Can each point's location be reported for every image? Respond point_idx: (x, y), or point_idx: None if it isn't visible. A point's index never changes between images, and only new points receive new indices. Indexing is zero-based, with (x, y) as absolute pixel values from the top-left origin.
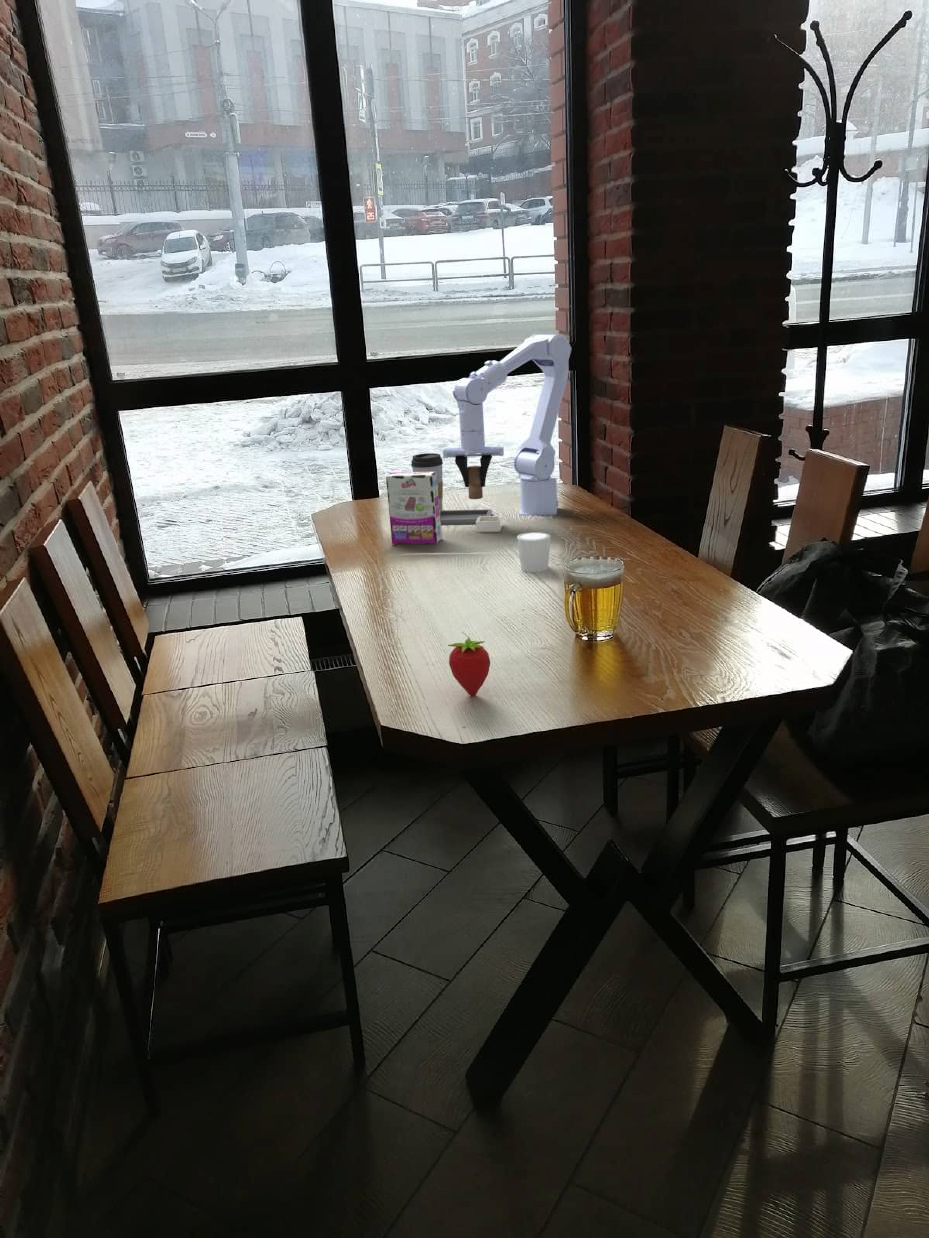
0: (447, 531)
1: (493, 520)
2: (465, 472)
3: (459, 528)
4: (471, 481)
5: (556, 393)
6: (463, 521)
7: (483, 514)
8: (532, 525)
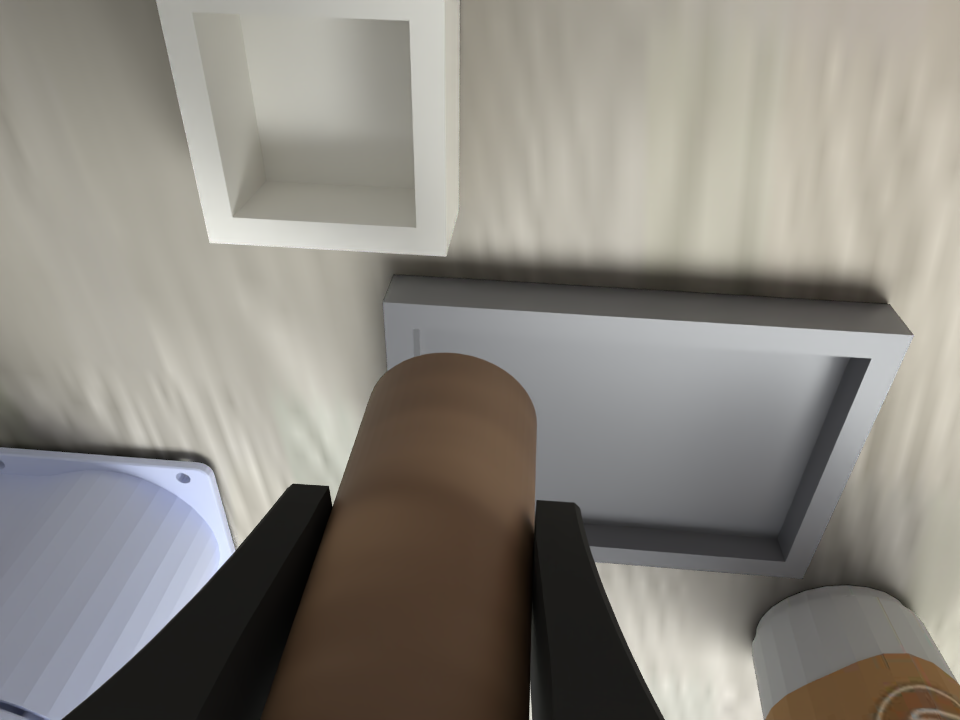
0: (765, 105)
1: (302, 204)
2: (559, 714)
3: (640, 204)
4: (460, 546)
5: None
6: (604, 304)
7: None
8: (15, 218)
